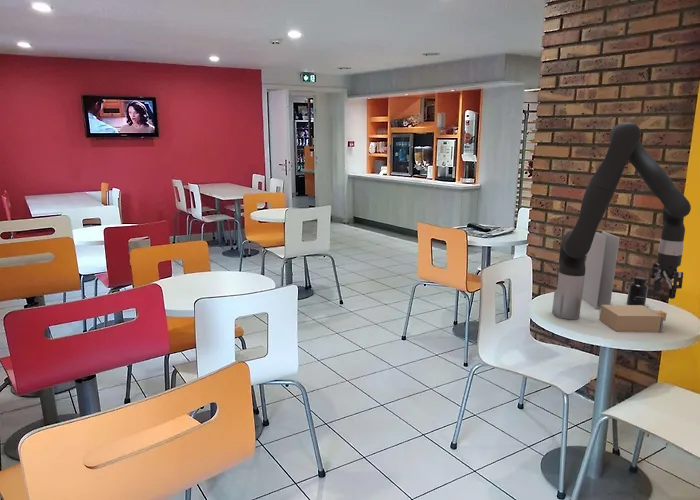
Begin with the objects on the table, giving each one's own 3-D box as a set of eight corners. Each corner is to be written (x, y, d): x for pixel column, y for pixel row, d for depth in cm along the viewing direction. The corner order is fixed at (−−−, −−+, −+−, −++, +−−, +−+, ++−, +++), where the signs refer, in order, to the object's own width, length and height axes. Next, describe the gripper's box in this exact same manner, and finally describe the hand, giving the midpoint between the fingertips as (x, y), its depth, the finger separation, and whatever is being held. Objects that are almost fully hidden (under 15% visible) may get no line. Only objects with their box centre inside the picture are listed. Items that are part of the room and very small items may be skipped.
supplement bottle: (637, 308, 212) (641, 280, 209) (622, 303, 218) (626, 276, 215) (648, 306, 214) (653, 279, 212) (634, 301, 220) (638, 274, 218)
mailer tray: (618, 330, 186) (620, 316, 185) (601, 318, 198) (603, 305, 196) (672, 330, 187) (674, 316, 185) (652, 319, 198) (654, 305, 197)
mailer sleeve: (615, 331, 186) (618, 315, 185) (599, 319, 198) (601, 304, 196) (659, 331, 186) (661, 316, 185) (639, 320, 198) (642, 305, 197)
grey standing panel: (609, 309, 209) (620, 237, 203) (596, 309, 209) (606, 237, 203) (593, 298, 223) (603, 230, 217) (581, 298, 223) (590, 230, 217)
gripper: (648, 247, 193) (642, 289, 197) (672, 256, 179) (666, 300, 183) (667, 247, 193) (661, 289, 197) (693, 256, 179) (686, 300, 183)
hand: (663, 294), depth 190 cm, fingers open, 8 cm apart
